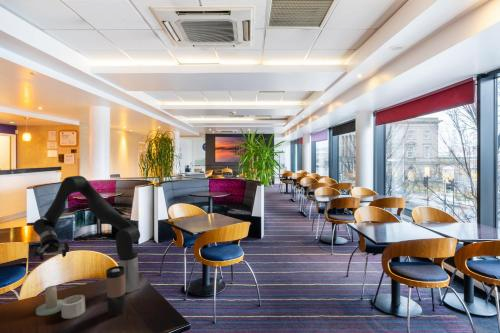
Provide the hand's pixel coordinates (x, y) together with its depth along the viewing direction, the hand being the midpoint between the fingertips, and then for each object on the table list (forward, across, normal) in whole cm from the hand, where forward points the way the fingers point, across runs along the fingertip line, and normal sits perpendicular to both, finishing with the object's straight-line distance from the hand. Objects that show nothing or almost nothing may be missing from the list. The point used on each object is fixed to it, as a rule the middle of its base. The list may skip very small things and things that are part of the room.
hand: (53, 257), depth 133 cm
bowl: (+22, +6, +17) cm, 28 cm away
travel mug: (+34, +21, +12) cm, 42 cm away
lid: (+10, 0, +21) cm, 23 cm away
